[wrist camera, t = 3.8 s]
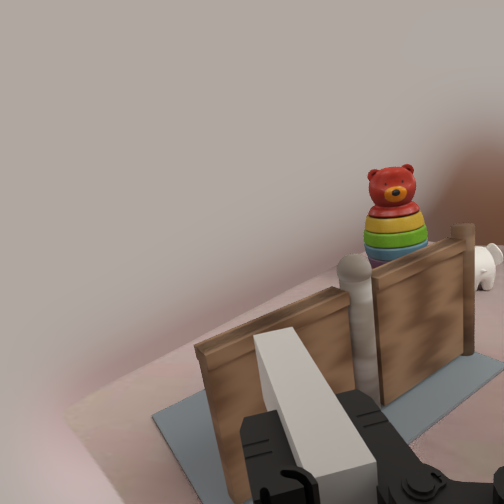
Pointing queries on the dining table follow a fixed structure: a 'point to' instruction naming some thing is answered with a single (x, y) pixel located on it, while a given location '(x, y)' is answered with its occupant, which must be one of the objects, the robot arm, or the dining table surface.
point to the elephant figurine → (486, 265)
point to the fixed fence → (410, 313)
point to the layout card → (398, 411)
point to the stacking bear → (393, 216)
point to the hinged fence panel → (247, 373)
